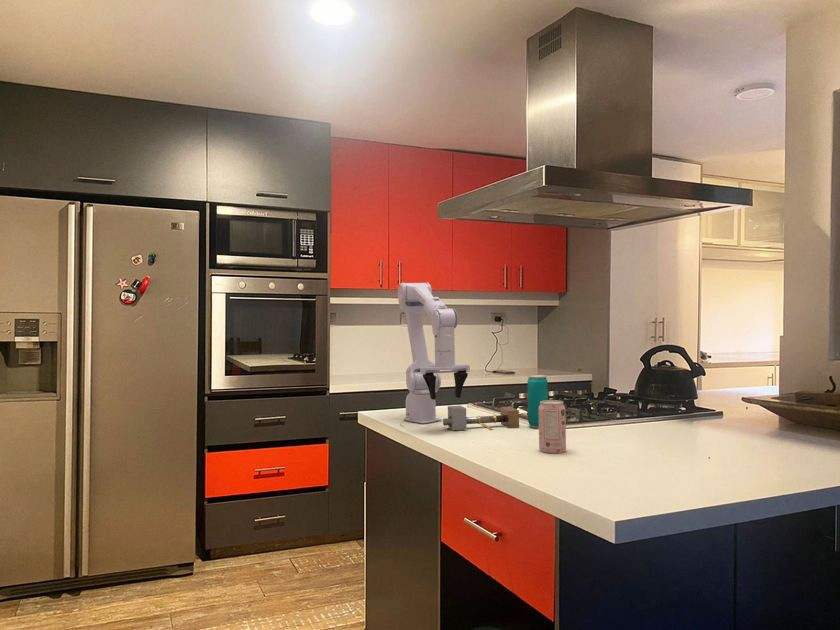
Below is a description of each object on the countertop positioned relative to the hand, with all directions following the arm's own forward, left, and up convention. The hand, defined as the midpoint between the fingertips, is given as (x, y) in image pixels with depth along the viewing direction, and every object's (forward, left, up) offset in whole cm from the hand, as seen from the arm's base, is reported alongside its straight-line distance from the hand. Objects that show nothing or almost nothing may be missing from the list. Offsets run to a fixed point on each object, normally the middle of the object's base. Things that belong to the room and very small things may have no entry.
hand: (445, 398), depth 183 cm
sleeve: (0, +4, -9) cm, 10 cm away
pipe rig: (+4, +10, -9) cm, 14 cm away
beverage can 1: (+16, +22, -10) cm, 29 cm away
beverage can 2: (+37, +1, -10) cm, 38 cm away
